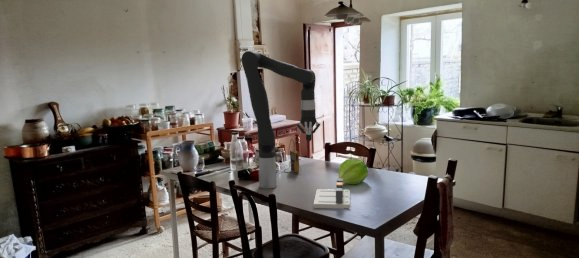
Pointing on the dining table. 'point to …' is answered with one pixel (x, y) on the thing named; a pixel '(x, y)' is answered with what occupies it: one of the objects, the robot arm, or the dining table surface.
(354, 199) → the dining table surface
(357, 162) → the lettuce
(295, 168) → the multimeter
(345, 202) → the breaker panel
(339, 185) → the block
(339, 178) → the block
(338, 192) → the block
